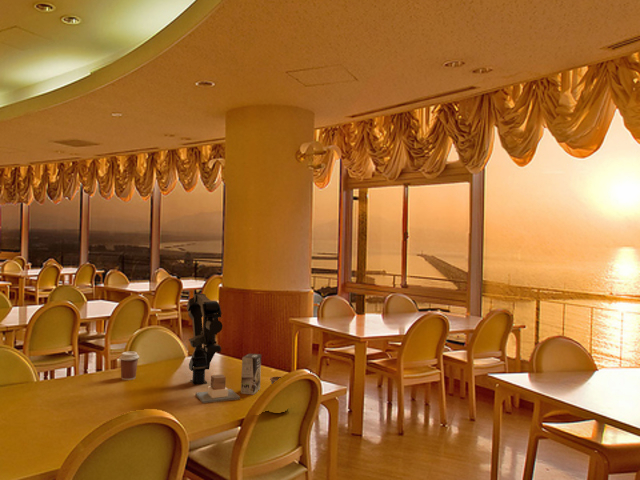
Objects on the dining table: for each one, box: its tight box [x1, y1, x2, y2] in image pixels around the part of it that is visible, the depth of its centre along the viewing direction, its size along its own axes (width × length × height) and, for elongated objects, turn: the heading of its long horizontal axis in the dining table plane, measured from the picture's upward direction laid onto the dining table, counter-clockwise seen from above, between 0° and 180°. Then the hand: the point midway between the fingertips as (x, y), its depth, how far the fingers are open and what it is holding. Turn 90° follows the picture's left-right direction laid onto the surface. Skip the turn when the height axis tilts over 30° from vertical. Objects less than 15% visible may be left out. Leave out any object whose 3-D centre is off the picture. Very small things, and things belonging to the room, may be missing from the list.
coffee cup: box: [118, 351, 140, 381], centre depth 246 cm, size 9×9×12 cm
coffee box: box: [240, 353, 262, 396], centre depth 232 cm, size 9×6×16 cm
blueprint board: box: [195, 385, 241, 404], centre depth 222 cm, size 12×16×4 cm
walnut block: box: [210, 373, 227, 390], centre depth 222 cm, size 5×5×5 cm
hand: (208, 364), depth 230 cm, fingers closed
